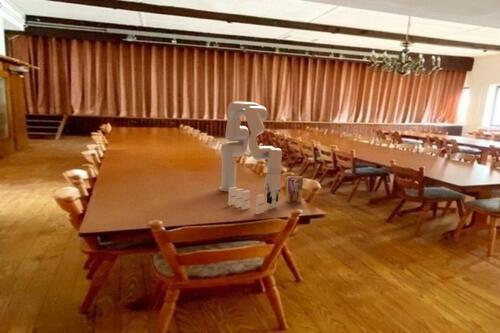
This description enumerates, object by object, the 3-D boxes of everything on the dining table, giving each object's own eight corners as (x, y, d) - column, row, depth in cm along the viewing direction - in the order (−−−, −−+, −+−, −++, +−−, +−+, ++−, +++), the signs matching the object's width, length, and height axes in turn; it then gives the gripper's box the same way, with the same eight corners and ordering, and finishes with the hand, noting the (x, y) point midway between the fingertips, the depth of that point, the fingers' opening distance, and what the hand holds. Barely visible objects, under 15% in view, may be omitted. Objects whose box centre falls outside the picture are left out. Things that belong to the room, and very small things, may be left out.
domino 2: (234, 207, 192) (235, 189, 191) (240, 205, 196) (241, 188, 194) (236, 207, 191) (237, 190, 189) (242, 206, 195) (243, 188, 193)
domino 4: (255, 213, 183) (256, 195, 181) (261, 211, 187) (262, 193, 185) (257, 214, 182) (258, 196, 180) (263, 212, 186) (264, 194, 184)
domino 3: (241, 209, 189) (241, 191, 187) (247, 207, 193) (247, 190, 191) (243, 210, 188) (244, 192, 186) (249, 208, 192) (250, 190, 190)
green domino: (268, 208, 193) (269, 191, 191) (273, 206, 196) (274, 189, 194) (270, 209, 191) (271, 191, 190) (275, 207, 195) (276, 190, 193)
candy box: (299, 200, 211) (301, 176, 208) (301, 202, 207) (303, 177, 204) (285, 200, 210) (287, 175, 207) (287, 202, 206) (288, 177, 203)
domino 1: (228, 205, 196) (228, 188, 194) (234, 203, 199) (234, 186, 197) (230, 205, 195) (230, 188, 193) (236, 204, 198) (236, 187, 196)
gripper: (277, 167, 199) (275, 198, 202) (258, 171, 186) (257, 203, 189) (288, 169, 194) (286, 200, 197) (270, 173, 181) (268, 206, 185)
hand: (272, 201), depth 193 cm, fingers closed on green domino, 4 cm apart
